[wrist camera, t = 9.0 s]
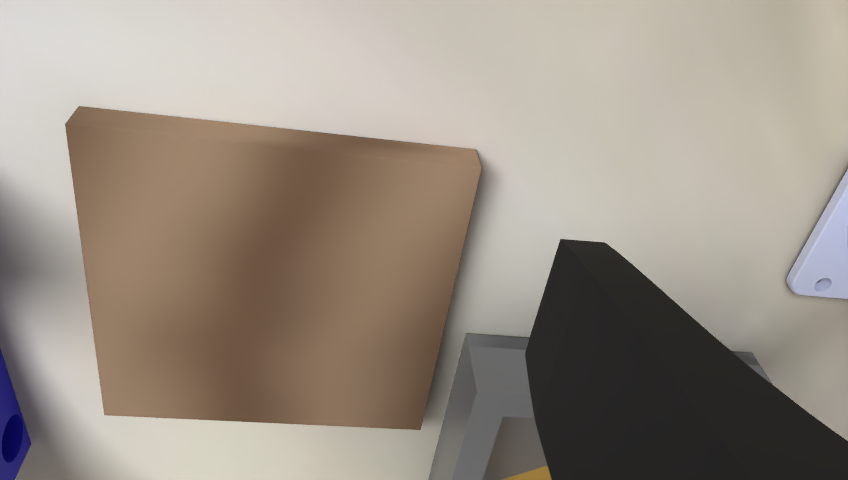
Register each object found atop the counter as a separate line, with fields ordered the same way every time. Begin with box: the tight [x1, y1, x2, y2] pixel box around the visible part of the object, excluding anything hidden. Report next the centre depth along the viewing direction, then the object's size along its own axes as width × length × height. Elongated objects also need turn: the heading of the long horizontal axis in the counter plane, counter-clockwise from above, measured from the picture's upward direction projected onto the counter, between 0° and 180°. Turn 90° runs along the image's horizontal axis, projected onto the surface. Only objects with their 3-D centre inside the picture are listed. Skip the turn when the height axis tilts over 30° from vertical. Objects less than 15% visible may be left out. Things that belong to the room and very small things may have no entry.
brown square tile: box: [65, 106, 482, 430], centre depth 21 cm, size 10×10×1 cm
